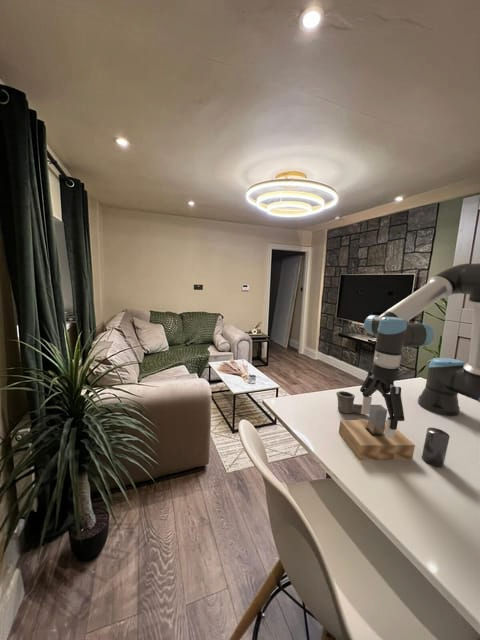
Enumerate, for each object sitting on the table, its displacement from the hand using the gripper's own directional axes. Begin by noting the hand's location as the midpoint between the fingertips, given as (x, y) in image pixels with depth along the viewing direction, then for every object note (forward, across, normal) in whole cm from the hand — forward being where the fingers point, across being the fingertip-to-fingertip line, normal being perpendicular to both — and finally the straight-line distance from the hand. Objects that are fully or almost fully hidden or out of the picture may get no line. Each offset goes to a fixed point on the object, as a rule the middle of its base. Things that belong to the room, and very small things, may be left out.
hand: (376, 424), depth 88 cm
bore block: (+8, 0, 0) cm, 8 cm away
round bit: (+8, +8, +15) cm, 19 cm away
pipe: (+8, -21, +3) cm, 23 cm away
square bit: (+8, 0, 0) cm, 8 cm away
